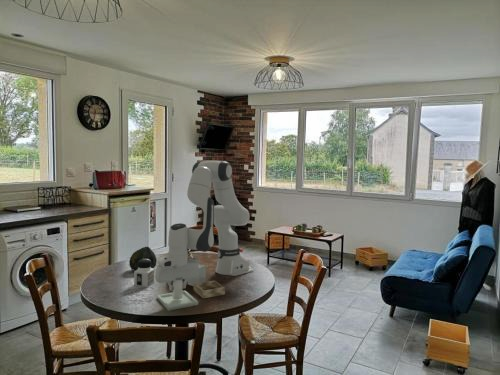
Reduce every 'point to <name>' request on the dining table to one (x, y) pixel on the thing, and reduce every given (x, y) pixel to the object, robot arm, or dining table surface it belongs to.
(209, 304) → the dining table surface
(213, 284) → the open wooden frame
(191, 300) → the tray
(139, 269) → the container
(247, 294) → the dining table surface
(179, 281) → the canister
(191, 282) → the small box
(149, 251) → the squash
